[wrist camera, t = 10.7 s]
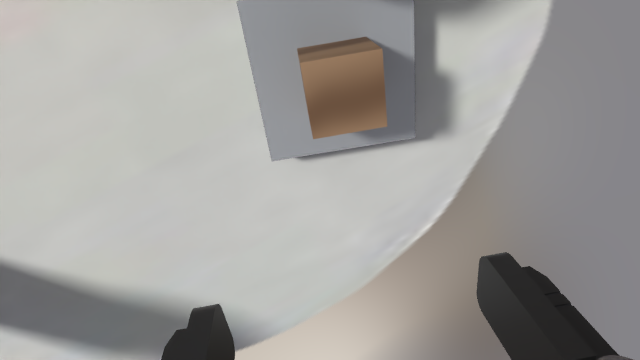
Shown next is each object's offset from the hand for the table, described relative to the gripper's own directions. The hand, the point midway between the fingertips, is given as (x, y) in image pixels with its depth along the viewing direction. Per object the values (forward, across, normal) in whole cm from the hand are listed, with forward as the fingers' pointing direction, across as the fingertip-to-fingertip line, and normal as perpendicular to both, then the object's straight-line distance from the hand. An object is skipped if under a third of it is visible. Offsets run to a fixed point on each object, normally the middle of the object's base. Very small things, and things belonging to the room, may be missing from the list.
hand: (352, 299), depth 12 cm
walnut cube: (+20, -3, -2) cm, 20 cm away
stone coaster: (+22, -3, -2) cm, 22 cm away
